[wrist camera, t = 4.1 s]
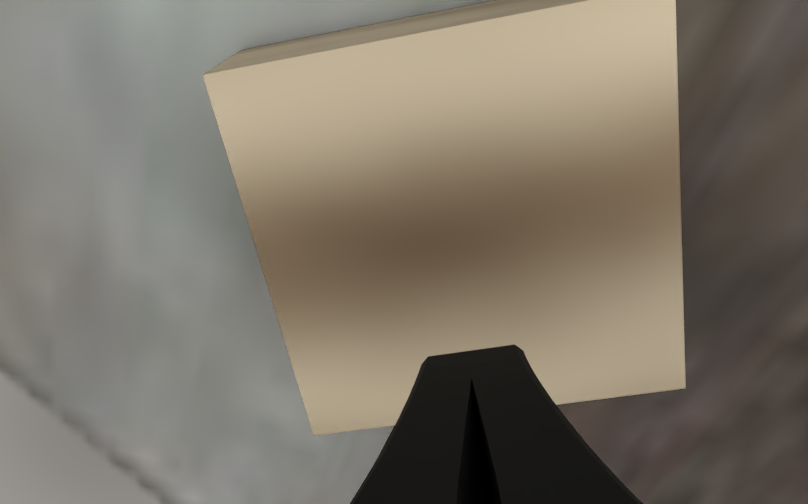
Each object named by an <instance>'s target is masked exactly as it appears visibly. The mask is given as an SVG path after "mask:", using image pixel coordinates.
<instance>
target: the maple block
mask: <svg viewBox="0 0 808 504" xmlns="http://www.w3.org/2000/svg"><path fill="white" fill-rule="evenodd" d="M203 78H204V81H205V84H206V88H207V91H208V94H209V97H210V101H211V104H212V107H213V110H214V114H215V117H216V120H217V123H218V127H219V130H220V133H221V136H222V140H223V143H224V146H225V149H226V153H227V156H228V159H229V162H230V166H231V169H232V172H233V175H234V179H235V182H236V185H237V188H238V192H239V195H240V198H241V201H242V205H243V208H244V211H245V214H246V218H247V221H248V224H249V227H250V231H251V234H252V237H253V240H254V244H255V247H256V250H257V253H258V257H259V260H260V263H261V266H262V270H263V273H264V276H265V279H266V283H267V286H268V289H269V292H270V296H271V299H272V302H273V305H274V309H275V312H276V315H277V318H278V322H279V325H280V328H281V331H282V335H283V338H284V341H285V344H286V348H287V351H288V354H289V357H290V361H291V364H292V367H293V370H294V373H295V377H296V380H297V383H298V386H299V390H300V393H301V396H302V399H303V403H304V406H305V409H306V412H307V416H308V419H309V422H310V425H311V429H312V432H313V435H314V436H315V435H323V434H331V433H339V432H346V431H354V430H362V429H370V428H378V427H386V426H393V425H395V424H396V422H397V420H398V418H399V416H400V414H401V412H402V410H403V408H404V406H405V403H406V401H407V399H408V397H409V395H410V392H411V390H412V388H413V385H414V383H415V380H416V378H417V375H418V373H419V370H420V367H421V364H422V363H423V362H424V361H425V360H426V358H427V357H428V356H435V355H442V354H449V353H457V352H464V351H471V350H478V349H486V348H493V347H500V346H507V345H514V344H515V345H516V346H518V347H519V348H520V349H522V350H523V351H524V353H525V356H526V358H527V360H528V362H529V364H530V366H531V368H532V369H533V371H534V373H535V375H536V376H537V378H538V379H539V381H540V383H541V384H542V386H543V387H544V388H545V390H546V391H547V393H548V394H549V396H550V397H551V399H552V400H553V401H554V403H555V404H556V405H558V404H566V403H574V402H581V401H589V400H597V399H605V398H613V397H621V396H628V395H636V394H644V393H652V392H660V391H668V390H675V389H683V388H686V385H685V347H684V308H683V270H682V231H681V193H680V154H679V116H678V77H677V38H676V0H495V1H490V2H485V3H479V4H474V5H469V6H464V7H459V8H454V9H449V10H444V11H439V12H434V13H428V14H423V15H418V16H413V17H408V18H403V19H398V20H393V21H388V22H383V23H377V24H372V25H367V26H362V27H357V28H352V29H347V30H342V31H337V32H332V33H327V34H321V35H316V36H311V37H306V38H301V39H296V40H291V41H286V42H281V43H276V44H270V45H265V46H260V47H255V48H250V49H245V50H241V51H239V52H238V53H236V54H235V55H233V56H231V57H230V58H228V59H227V60H225V61H224V62H222V63H220V64H219V65H217V66H216V67H214V68H213V69H211V70H209V71H208V72H206V73H205V74H203Z"/></svg>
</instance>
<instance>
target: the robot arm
mask: <svg viewBox="0 0 808 504" xmlns="http://www.w3.org/2000/svg"><path fill="white" fill-rule="evenodd" d="M350 504H643V503H642V502H641V501H640V500H639V499H638V498H637V497H636V496H635V495H634V494H633V493H632V492H631V491H630V490H629V489H628V488H627V487H626V486H625V485H624V484H623V483H622V482H621V481H620V480H619V479H618V478H617V477H616V476H615V475H614V473H613V472H612V471H611V470H610V469H609V468H608V467H607V466H606V465H605V464H604V463H603V462H602V461H601V459H600V458H599V457H598V456H597V455H596V454H595V453H594V451H593V450H592V449H591V448H590V447H589V446H588V444H587V443H586V442H585V441H584V440H583V438H582V437H581V436H580V435H579V433H578V432H577V431H576V430H575V429H574V427H573V426H572V425H571V424H570V422H569V421H568V420H567V419H566V417H565V416H564V415H563V414H562V412H561V411H560V410H559V408H558V407H557V406H556V404H555V403H554V401H553V400H552V399H551V397H550V396H549V394H548V393H547V391H546V390H545V388H544V387H543V386H542V384H541V383H540V381H539V379H538V378H537V376H536V375H535V373H534V371H533V369H532V368H531V366H530V364H529V362H528V360H527V358H526V356H525V353H524V351H523V350H522V349H520V348H519V347H518V346H516V345H515V344H514V345H507V346H500V347H493V348H486V349H478V350H471V351H464V352H457V353H449V354H442V355H435V356H428V357H427V358H426V360H425V361H424V362H423V363H422V364H421V367H420V370H419V373H418V375H417V378H416V380H415V383H414V385H413V388H412V390H411V392H410V395H409V397H408V399H407V401H406V403H405V406H404V408H403V410H402V412H401V414H400V416H399V418H398V420H397V422H396V424H395V426H394V428H393V430H392V432H391V434H390V436H389V438H388V439H387V441H386V443H385V445H384V447H383V449H382V451H381V453H380V455H379V457H378V458H377V460H376V462H375V464H374V465H373V467H372V469H371V470H370V472H369V474H368V475H367V477H366V479H365V480H364V482H363V483H362V485H361V487H360V488H359V490H358V492H357V493H356V495H355V497H354V498H353V500H352V501H351V503H350Z"/></svg>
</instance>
